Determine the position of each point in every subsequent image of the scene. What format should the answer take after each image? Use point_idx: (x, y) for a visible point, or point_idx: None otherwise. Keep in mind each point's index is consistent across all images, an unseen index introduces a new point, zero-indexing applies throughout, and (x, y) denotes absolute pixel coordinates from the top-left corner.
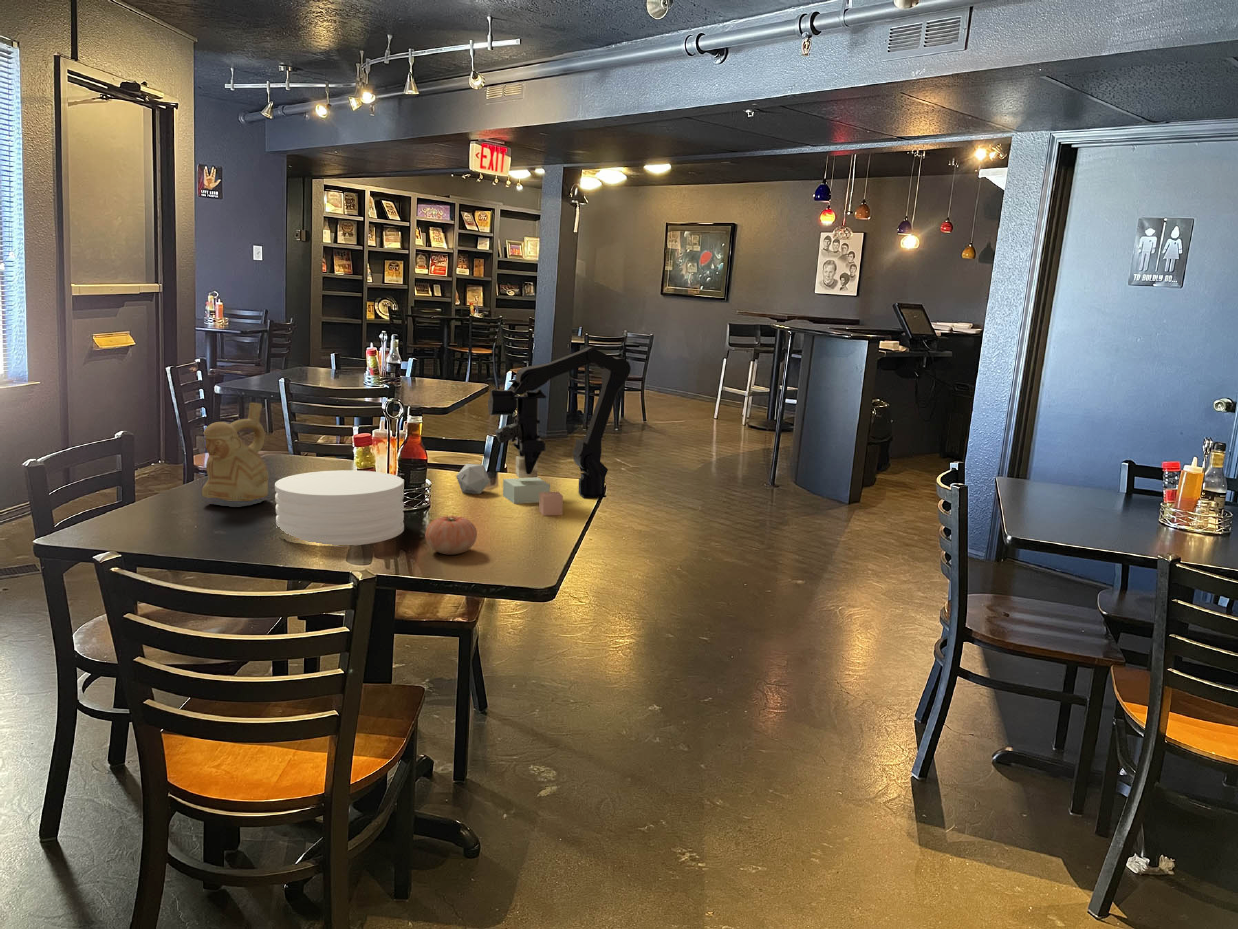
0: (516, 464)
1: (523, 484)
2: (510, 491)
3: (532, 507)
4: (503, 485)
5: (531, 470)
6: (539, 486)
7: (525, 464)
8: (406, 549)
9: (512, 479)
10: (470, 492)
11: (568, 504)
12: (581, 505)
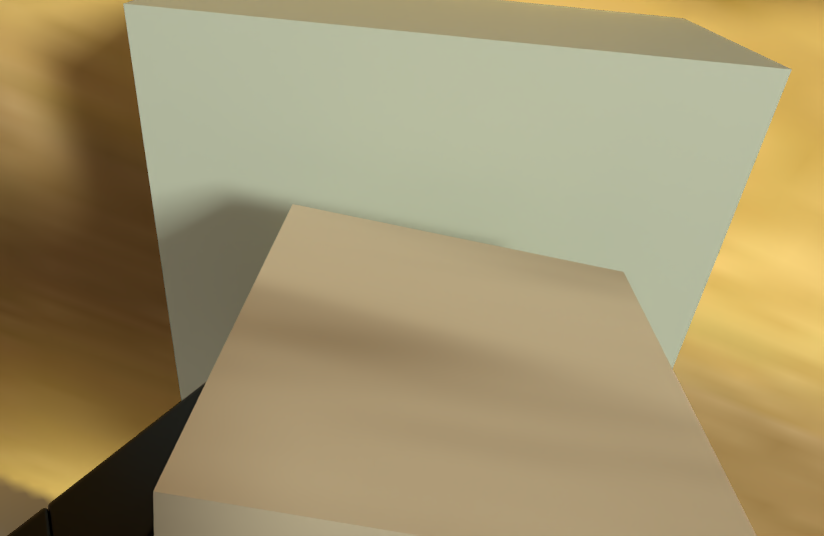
0: (590, 391)
1: (254, 207)
2: (357, 5)
3: (11, 104)
4: (723, 44)
5: None
6: (181, 357)
7: (118, 474)
8: None
9: (669, 201)
10: None
11: (115, 419)
12: (72, 474)
